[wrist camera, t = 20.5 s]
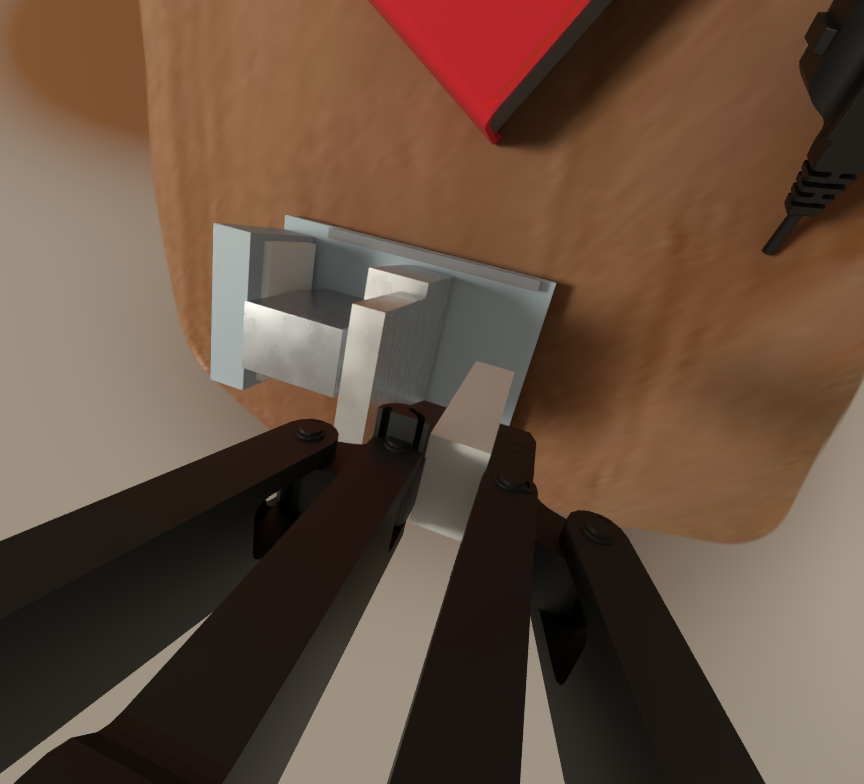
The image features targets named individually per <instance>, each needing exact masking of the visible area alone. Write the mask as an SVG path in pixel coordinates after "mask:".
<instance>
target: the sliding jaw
mask: <svg viewBox="0 0 864 784" xmlns="http://www.w3.org/2000/svg"><path fill="white" fill-rule="evenodd" d="M453 279H454V277H453V276H449V275H445V274H441V273H438V272H434V271H430V270H426V269H422V268H418V267H415V266H411V265H407V264H404V265H392V266H380V267H369V271H368V277H367V283H366V290H365V296H364V301H360V302H356V303H352V308H351V315H350V322H349V329H348V335H347V342H346V349H345V356H344V362H343V369H342V376H341V383H340V389H339V396H338V403H337V410H336V416H335V423H334V427H335V428H336V429H337V431H338V433H339V436H338V442H345V443H352V444H366V443H367V442H368V441H369V440H370V439H371V438H372V437H373V433H374V428H375V422H376V417H377V411H378V407H380V406H381V405H383V404H388V403H403V404H408V405H413V404H415V403H417V402H420V401H423V400H425V398H426V394H427V390H428V385H429V381H430V377H431V373H432V368H433V364H434V360H435V356H436V351H437V347H438V343H439V339H440V334H441V330H442V326H443V322H444V318H445V313H446V309H447V305H448V301H449V296H450V292H451V288H452V284H453Z"/></svg>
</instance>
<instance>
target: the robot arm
mask: <svg viewBox="0 0 864 784" xmlns="http://www.w3.org/2000/svg"><path fill="white" fill-rule="evenodd" d="M513 376H514V372H513V371H510V370H506V369H503V368H499V367H496V366H493V365H489V364H486V363H482V362H479V361H476V362H475V364H474V366H473V367H472V369H471V370H470V372H469V373H468V375H467V377H466V378H465V380H464V381H463V383H462V385H461V386H460V388H459V389H458V391H457V392H456V394H455V396H454V397H453V399H452V400H451V402H450V404H449V405H448V407H444V406H441V405H438V404H435V403H431V402H428V401H425V400H423V401H420V402H417V403H415V404H413V405H408V404H403V403H388V404H383V405H381V406H380V407H378V411H377V417H376V422H375V428H374V433H373V437H372V438H371V439H370V440H369V441H368V442H367V443H366V444H352V443H345V442H338V436H339V433H338V431H337V429H336V428H335V427H333V426H332V425H331V424H329V423H326V422H324V421H321V420H315V419H300V420H296V421H292V422H289V423H287V424H284V425H282V426H279V427H277V428H275V429H272V430H270V431H267V432H265V433H263V434H260V435H258V436H255V437H253V438H250V439H248V440H246V441H243V442H240V443H238V444H236V445H233V446H231V447H228V448H226V449H223V450H221V451H219V452H216V453H214V454H211V455H209V456H206V457H204V458H202V459H199V460H197V461H194V462H192V463H190V464H187V465H185V466H182V467H180V468H177V469H175V470H172V471H170V472H167V473H165V474H163V475H160V476H158V477H155V478H153V479H150V480H148V481H146V482H143V483H141V484H138V485H136V486H133V487H131V488H128V489H126V490H124V491H121V492H119V493H117V494H114V495H111V496H109V497H107V498H104V499H102V500H99V501H97V502H94V503H92V504H90V505H87V506H85V507H82V508H80V509H77V510H75V511H73V512H70V513H68V514H65V515H63V516H60V517H58V518H55V519H53V520H51V521H48V522H46V523H43V524H41V525H38V526H36V527H34V528H31V529H29V530H26V531H24V532H22V533H19V534H17V535H14V536H12V537H9V538H7V539H4V540H2V541H0V773H1V772H3V771H4V770H6V769H7V768H8V767H9V766H10V765H12V764H13V763H15V762H16V761H17V760H19V759H20V758H21V757H23V756H24V755H25V754H27V753H28V752H29V751H31V750H32V749H33V748H34V747H36V746H37V745H38V744H40V743H41V742H42V741H44V740H45V739H46V738H47V737H49V736H50V735H52V734H53V733H54V732H55V731H57V730H58V729H59V728H61V727H62V726H63V725H65V724H66V723H67V722H69V721H70V720H71V719H72V718H74V717H75V716H76V715H78V714H79V713H80V712H82V711H83V710H84V709H86V708H87V707H88V706H90V705H91V704H92V703H94V702H95V701H96V700H97V699H99V698H100V697H102V696H103V695H104V694H105V693H107V692H108V691H109V690H111V689H112V688H113V687H114V686H116V685H117V684H119V683H120V682H121V681H123V680H124V679H125V678H127V677H128V676H129V675H130V674H132V673H133V672H134V671H136V670H137V669H138V668H140V667H141V666H142V665H144V664H145V663H146V662H147V661H149V660H150V659H151V658H153V657H154V656H155V655H157V654H158V653H159V652H161V651H162V650H163V649H165V648H166V647H167V646H168V645H170V644H171V643H173V642H174V641H175V640H176V639H178V638H179V637H180V636H182V635H183V634H184V633H185V632H187V631H188V630H190V629H191V628H192V627H193V626H195V625H196V624H197V623H199V622H200V621H201V620H203V619H204V618H205V617H207V616H208V615H209V614H210V613H212V612H213V613H212V614H211V615H210V616H209V617H208V618H207V619H206V620H205V621H204V622H203V624H202V625H201V626H200V627H199V628H198V629H197V630H196V631H195V632H194V634H193V635H192V636H191V637H190V638H189V639H188V640H187V641H186V642H185V644H184V645H183V646H182V647H181V648H180V649H179V650H178V651H177V652H176V653H175V654H174V656H173V657H172V658H171V659H170V660H169V661H168V662H167V663H166V664H165V665H164V666H163V668H162V669H161V670H160V671H159V672H158V673H157V674H156V675H155V676H154V677H153V679H152V680H151V681H150V682H149V683H148V684H147V685H146V686H145V687H144V688H143V689H142V691H141V692H140V693H139V694H138V695H137V696H136V697H135V698H134V699H133V700H132V702H131V703H130V704H129V705H128V706H127V707H126V708H125V709H124V710H123V711H122V712H121V713H120V714H119V715H118V716H117V717H116V718H115V719H114V720H113V721H112V722H111V723H110V724H109V725H107V726H106V727H104V728H103V729H101V730H100V731H98V732H96V733H91V734H87V735H82V736H77V737H73V738H70V739H69V740H67V741H66V742H64V743H63V744H61V745H59V746H58V747H56V748H55V749H53V750H52V751H50V752H48V753H47V754H46V755H45V756H43V757H42V758H41V759H40V760H39V761H38V762H37V763H36V764H35V765H33V766H32V767H31V768H30V769H29V770H28V771H27V772H26V773H25V774H24V775H22V776H21V777H20V778H19V779H18V780H17V781H16V782H15V783H14V784H278V782H279V780H280V778H281V776H282V774H283V772H284V770H285V768H286V766H287V764H288V762H289V760H290V758H291V756H292V754H293V752H294V750H295V748H296V746H297V744H298V742H299V740H300V738H301V736H302V734H303V732H304V730H305V728H306V726H307V724H308V722H309V720H310V718H311V716H312V714H313V712H314V710H315V708H316V706H317V704H318V702H319V700H320V698H321V696H322V694H323V692H324V691H325V688H326V686H327V685H328V683H329V680H330V679H331V676H332V675H333V672H334V671H335V669H336V667H337V665H338V663H339V661H340V658H341V657H342V655H343V653H344V651H345V649H346V647H347V645H348V643H349V641H350V638H351V637H352V635H353V633H354V631H355V629H356V627H357V625H358V623H359V621H360V619H361V617H362V615H363V613H364V611H365V609H366V607H367V605H368V603H369V601H370V599H371V597H372V595H373V593H374V591H375V589H376V587H377V585H378V583H379V581H380V579H381V577H382V575H383V573H384V571H385V569H386V567H387V565H388V563H389V561H390V559H391V557H392V555H393V553H394V551H395V549H396V547H397V545H398V543H399V542H400V539H401V537H402V536H403V532H404V528H405V523H406V520H407V518H408V516H409V514H410V512H411V515H410V519H409V522H410V523H413V524H415V525H418V526H421V527H423V528H426V529H429V530H431V531H434V532H437V533H439V534H442V535H445V536H448V537H450V538H452V539H455V540H458V541H461V545H460V548H459V551H458V554H457V557H456V560H455V563H454V566H453V570H452V573H451V576H450V580H449V583H448V586H447V590H446V593H445V596H444V600H443V603H442V606H441V609H440V613H439V616H438V619H437V622H436V626H435V629H434V632H433V635H432V639H431V642H430V645H429V649H428V652H427V655H426V658H425V662H424V665H423V668H422V671H421V675H420V678H419V681H418V684H417V688H416V691H415V694H414V697H413V701H412V704H411V707H410V711H409V714H408V717H407V721H406V723H405V727H404V730H403V733H402V736H401V740H400V743H399V746H398V750H397V753H396V756H395V759H394V763H393V766H392V769H391V772H390V776H389V779H388V782H387V784H520V775H521V758H522V742H523V726H524V709H525V693H526V677H527V660H528V644H529V627H530V616H531V621H532V626H533V631H534V636H535V640H536V645H537V650H538V655H539V659H540V665H541V670H542V675H543V679H544V684H545V689H546V694H547V699H548V704H549V709H550V713H551V718H552V723H553V728H554V733H555V737H556V743H557V748H558V753H559V757H560V762H561V767H562V772H563V777H564V781H565V784H765V782H764V780H763V779H762V777H761V775H760V773H759V771H758V770H757V768H756V766H755V764H754V762H753V761H752V759H751V757H750V755H749V754H748V752H747V750H746V748H745V746H744V744H743V743H742V741H741V739H740V737H739V736H738V734H737V732H736V730H735V728H734V727H733V725H732V723H731V721H730V719H729V718H728V716H727V714H726V712H725V710H724V709H723V707H722V705H721V703H720V702H719V700H718V698H717V696H716V694H715V693H714V691H713V689H712V687H711V685H710V684H709V682H708V680H707V679H706V677H705V675H704V673H703V671H702V669H701V668H700V666H699V664H698V662H697V660H696V659H695V657H694V655H693V653H692V651H691V650H690V648H689V646H688V644H687V643H686V641H685V639H684V637H683V635H682V634H681V632H680V630H679V628H678V626H677V625H676V623H675V621H674V619H673V618H672V616H671V614H670V612H669V610H668V608H667V607H666V605H665V603H664V601H663V600H662V598H661V596H660V594H659V593H658V591H657V589H656V587H655V585H654V584H653V582H652V580H651V578H650V576H649V575H648V573H647V571H646V569H645V567H644V566H643V564H642V562H641V560H640V558H639V557H638V555H637V553H636V551H635V549H634V548H633V546H632V544H631V542H630V541H629V539H628V537H627V536H626V535H625V533H624V532H623V531H622V529H621V528H619V527H618V526H617V525H616V524H614V523H613V522H612V521H611V520H609V519H608V518H606V517H604V516H602V515H600V514H596V513H593V512H590V511H582V510H577V511H574V512H571V513H570V515H569V516H568V518H567V519H565V518H563V517H562V516H560V515H558V514H557V513H555V512H553V511H552V510H550V509H549V508H547V507H546V506H545V505H544V504H543V503H542V502H540V500H539V499H538V491H537V487H536V485H535V484H534V483H533V476H534V463H535V460H534V459H535V450H536V441H535V440H534V438H533V436H532V435H531V433H529V432H526V431H523V430H520V429H517V428H514V427H511V426H507V425H504V424H501V423H500V421H501V418H502V414H503V411H504V407H505V404H506V400H507V397H508V393H509V390H510V386H511V383H512V379H513ZM276 492H277V496H276V497H275V498H273V499H271V500H269V501H266V499H267V498H268V497H269V496H271V495H272V494H274V493H276Z"/></svg>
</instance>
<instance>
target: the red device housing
mask: <svg viewBox="0 0 864 784" xmlns="http://www.w3.org/2000/svg"><path fill="white" fill-rule="evenodd" d="M369 2H370V3H371V4H372V5H373V6H374V7H375V8H376V10H377V11H378V12H379V13H380V14H381V15H382V17H383V18H384V19H385V20H386V21H387V22H388V24H389V25H390V26H391V27H392V28H393V29H394V31H395V32H396V33H397V34H398V35H399V36H400V38H401V39H402V40H403V41H404V42H405V43H406V44H407V46H408V47H409V48H410V49H411V50H412V51H413V53H414V54H415V55H416V56H417V57H418V58H419V60H420V61H421V62H422V63H423V64H424V65H425V67H426V68H427V69H428V70H429V71H430V72H431V74H432V75H433V76H434V77H435V78H436V79H437V81H438V82H439V83H440V84H441V85H442V86H443V87H444V89H445V90H446V91H447V92H448V93H449V94H450V96H451V97H452V98H453V99H454V100H455V101H456V103H457V104H458V105H459V106H460V107H461V108H462V110H463V111H464V112H465V113H466V114H467V115H468V117H469V118H470V119H471V120H472V121H473V122H474V123H475V125H476V126H477V127H478V128H479V129H480V130H481V132H482V133H483V134H484V135H485V136H486V137H487V139H488V140H489V141H490V142H491V143H492V144H496V143H497V142H498V140H499V139H500V138H501V137H502V136H501V135H500V134H499V133H498V132H497V131H498V130H499V129H500V127H501V126H502V125H503V124H504V123H505V122H506V121H507V120H508V118H509V117H510V116H511V115H512V114H513V113H514V112H515V110H516V109H517V108H518V107H519V106H520V105H521V104H522V103H523V101H524V100H525V99H526V98H527V97H528V96H529V95H530V93H531V92H532V91H533V90H534V89H535V88H536V87H537V86H538V84H539V83H540V82H541V81H542V80H543V79H544V78H545V76H546V75H547V74H548V73H549V72H550V71H551V70H552V69H553V67H554V66H555V65H556V64H557V63H558V62H559V61H560V59H561V58H562V57H563V56H564V55H565V54H566V53H567V52H568V50H569V49H570V48H571V47H572V46H573V45H574V44H575V42H576V41H577V40H578V39H579V38H580V37H581V36H582V35H583V33H584V32H585V31H586V30H587V29H588V28H589V27H590V25H591V24H592V23H593V22H594V21H595V20H596V19H597V17H598V16H599V15H600V14H601V13H602V12H603V11H604V10H605V8H606V7H607V6H608V5H609V4H610V3H611V2H612V0H369Z"/></svg>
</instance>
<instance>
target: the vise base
mask: <svg viewBox="0 0 864 784" xmlns="http://www.w3.org/2000/svg"><path fill="white" fill-rule="evenodd" d="M404 264H407V265H411V266H415V267H418V268H422V269H426V270H430V271H434V272H438V273H441V274H445V275H449V276H453V277H454V279H453V284H452V288H451V292H450V296H449V301H448V305H447V309H446V313H445V318H444V322H443V326H442V330H441V334H440V339H439V343H438V347H437V351H436V356H435V360H434V364H433V368H432V373H431V377H430V381H429V385H428V390H427V394H426V398H425V401H428V402H431V403H435V404H438V405H441V406H444V407H448V405H449V404H450V402H451V400H452V399H453V397H454V396H455V394H456V392H457V391H458V389H459V388H460V386H461V385H462V383H463V381H464V380H465V378H466V377H467V375H468V373H469V372H470V370H471V369H472V367H473V366H474V364H475V362H476V361H479V362H482V363H486V364H489V365H493V366H496V367H499V368H503V369H506V370H510V371H513V372H514V376H513V379H512V383H511V386H510V390H509V393H508V397H507V400H506V404H505V407H504V411H503V414H502V418H501V421H500V423H501V424H504V425H507V426H509V425H510V422H511V419H512V416H513V413H514V410H515V407H516V404H517V401H518V398H519V395H520V392H521V389H522V386H523V383H524V380H525V377H526V374H527V371H528V367H529V364H530V361H531V358H532V355H533V352H534V349H535V346H536V343H537V340H538V337H539V334H540V331H541V328H542V325H543V322H544V319H545V316H546V313H547V310H548V307H549V304H550V301H551V298H552V295H553V292H554V289H555V286H556V282H555V281H551V280H547V279H543V278H539V277H535V276H531V275H527V274H523V273H519V272H515V271H511V270H507V269H503V268H499V267H495V266H491V265H487V264H483V263H479V262H476V261H472V260H468V259H464V258H460V257H456V256H452V255H448V254H444V253H440V252H436V251H432V250H428V249H424V248H420V247H416V246H412V245H408V244H404V243H400V242H396V241H392V240H388V239H384V238H380V237H376V236H372V235H369V234H365V233H361V232H357V231H353V230H349V229H345V228H341V227H337V226H333V225H329V224H325V223H321V222H317V221H313V220H309V219H305V218H301V217H297V216H290V215H285V226H284V229H277V228H266V227H255V226H244V225H233V224H222V223H214V228H213V281H212V334H211V380H214V381H217V382H220V383H223V384H226V385H229V386H232V387H235V388H238V389H241V390H244V389H246V388H249V387H251V386H253V385H255V384H258V383H260V382H262V381H264V380H266V379H269V378H271V377H269V376H266V375H263V374H260V373H257V372H254V371H251V370H248V369H245V368H242V348H243V328H244V308H245V301H246V300H252V299H259V298H265V297H271V296H278V295H284V294H290V293H297V292H303V291H309V290H316V289H322V288H328V289H331V290H335V291H338V292H342V293H345V294H349V295H352V296H356V297H360V298H363V299H364V296H365V290H366V283H367V277H368V271H369V267H380V266H392V265H404Z"/></svg>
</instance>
